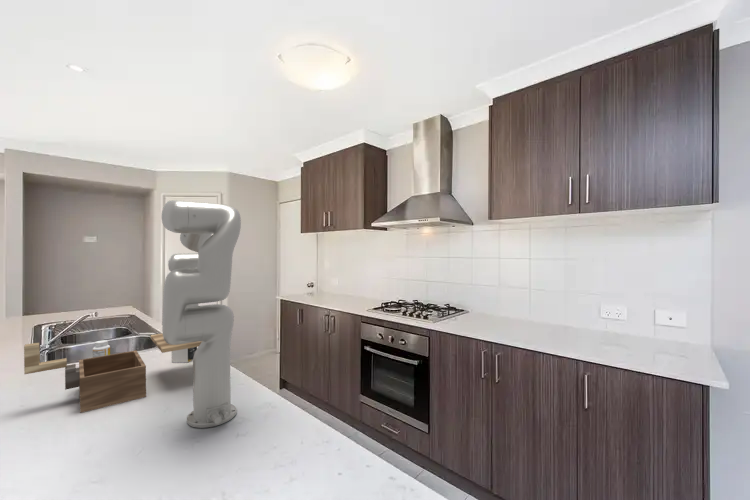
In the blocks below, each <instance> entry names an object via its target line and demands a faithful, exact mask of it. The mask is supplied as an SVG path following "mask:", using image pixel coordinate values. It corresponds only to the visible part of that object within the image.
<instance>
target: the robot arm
mask: <svg viewBox="0 0 750 500" xmlns="http://www.w3.org/2000/svg"><path fill="white" fill-rule="evenodd" d="M161 223H162V225H163V227H164V228H165V229H166V231H170V232H172V233H175V234H180V235H179V241H180V243H181V245H182V246H183V247H185V248H186V249H188V250H190V251H192V252H191V253H190V252H189V253H184V252H183V253H173V254H171V256H170V258H169V259H168V262H167V266H168V271H170V272H169V273H167V275H166V277H165V281H164V286H163V299H162V301H163V302H162V321H161V322H162V323H161V325H162V327H161V329H162V330H161V331H162V333H163V338H164V340H165V342H166V343H168V344H170V345H178V344H185V343H191V342H197V341H202V342H201V344H200V345H199V346H198V347H197V350H196V352H195V354H194V357H193V360H192V380H193V381H192V387H193V388H192V392H193V393H192V397H193V398H192V401H193V402H192V403H193V404H192V405H193V410H192V411H191V412H189V414H188V415H187V417H186V424H187V425H188V426H190V427H193V428H197V429H204V428H205V429H207V428H213V427H217V426H220V425H223V424H225V423H227V422H229V421H231V420H233V418H234V417H235V416H236V414H237V407H236V406H235V405H234V404H233V403H231V400H232V399H231V397H232V396H231V395H232V394H231V391H232V389H231V388H232V387H231V386H232V385H231V350H232V349H231V348H232V347H231V346H232V345H231V344H232V343H231V342H232V335H233V328H234V321H235V319H234V317H235V316H234V312H233V310H232V308H231V307H229V306H228V305H226V304H219V303H216V302H220V301H224V300H226V299H227V298H228V296H229V294H230V290H231V284H232V282H231V280H232V270H233V254H234V250H235V247H236V245H237V242H238V239H239V237H240V234H241V230H242V229H241V228H242V219H241V214H240V212H239V210H238V209H237V208H236V207H234V206H231V205H227V204H223V203H214V202H213V203H212V202H200V201H199V202H198V201H190V200H189V201H185V200H169V201H167V202H166V203H165V204H164V205H163V208H162V211H161ZM209 303H212V304H209ZM213 303H214V304H213ZM215 303H216V304H215ZM199 304H202V305H199ZM203 304H204V305H203Z"/></svg>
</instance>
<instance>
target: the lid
mask: <svg viewBox="0 0 750 500" xmlns="http://www.w3.org/2000/svg"><path fill="white" fill-rule="evenodd" d="M150 339H151V341H152V342H153V343H154V345H155V346H156V347H157V348H158V350H159V351H160V352H161V353H162V354H164V353H168V352H172V351H176V350H182V349H187V348H193V347H197V348H198V347H199V345H200V344H201V342H202V341H197V342H191V343H185V344H178V345H170V344H168V343H166V342H165V340H164V338H163V332H162V333H156V334H151V335H150Z"/></svg>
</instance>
